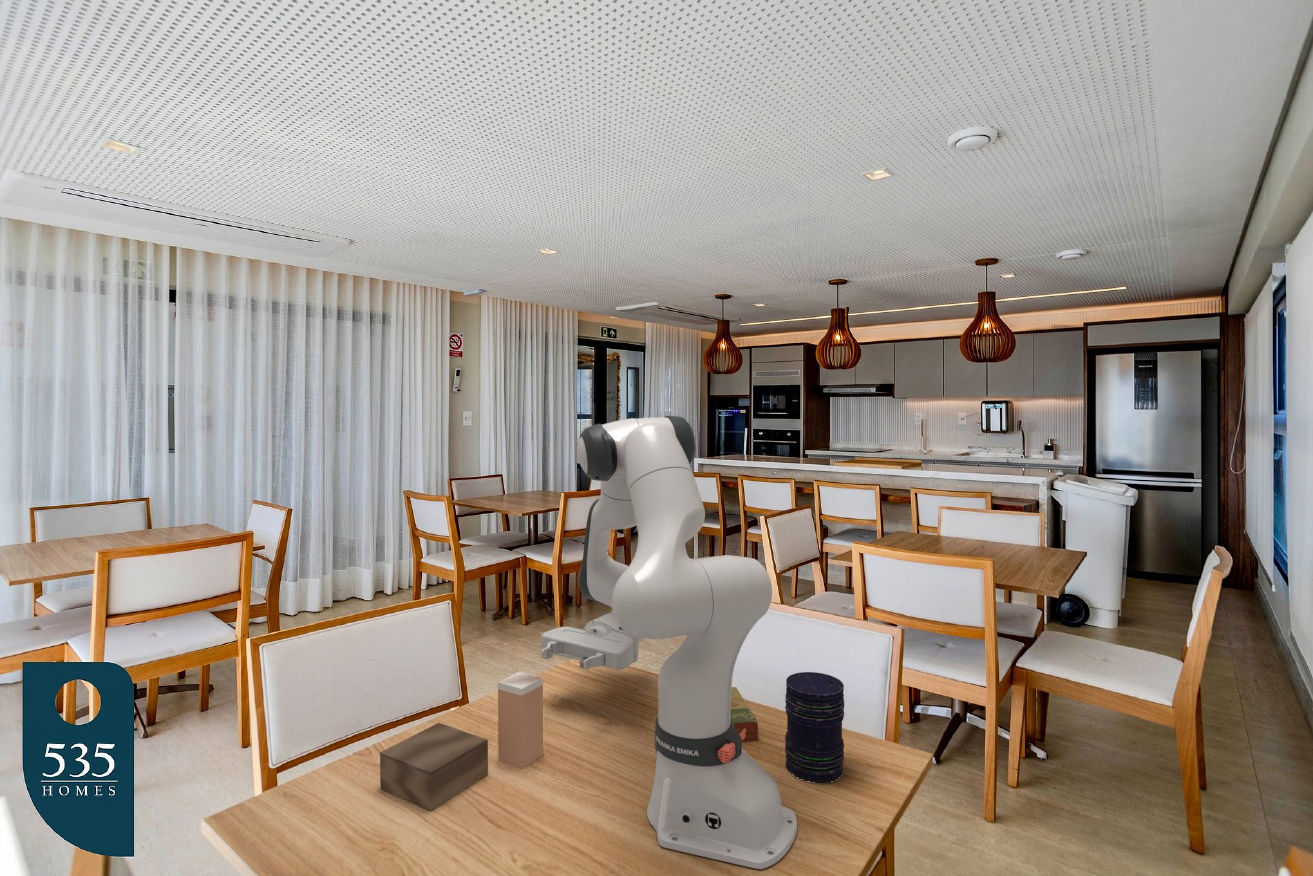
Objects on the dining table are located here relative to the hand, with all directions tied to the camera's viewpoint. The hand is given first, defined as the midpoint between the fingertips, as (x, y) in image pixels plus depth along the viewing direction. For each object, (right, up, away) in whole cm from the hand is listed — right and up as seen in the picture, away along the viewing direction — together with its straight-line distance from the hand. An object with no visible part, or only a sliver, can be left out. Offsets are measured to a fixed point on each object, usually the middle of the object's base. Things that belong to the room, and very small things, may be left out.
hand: (562, 659), depth 126 cm
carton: (+32, -14, +3) cm, 35 cm away
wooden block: (-19, -14, -18) cm, 29 cm away
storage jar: (+45, -14, -14) cm, 49 cm away
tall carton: (-6, -14, -10) cm, 18 cm away
